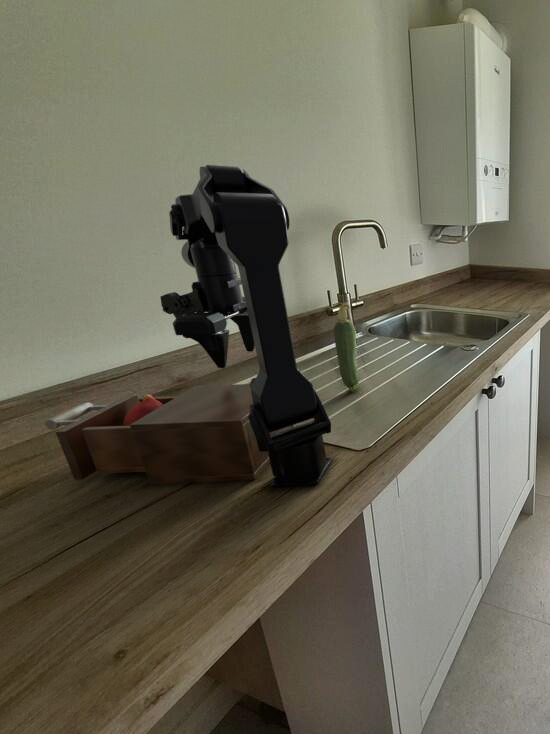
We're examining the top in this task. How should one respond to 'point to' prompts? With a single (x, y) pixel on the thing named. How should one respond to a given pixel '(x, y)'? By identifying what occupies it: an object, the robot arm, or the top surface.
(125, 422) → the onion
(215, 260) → the robot arm
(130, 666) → the top surface
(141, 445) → the cabinet
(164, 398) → the drawer
